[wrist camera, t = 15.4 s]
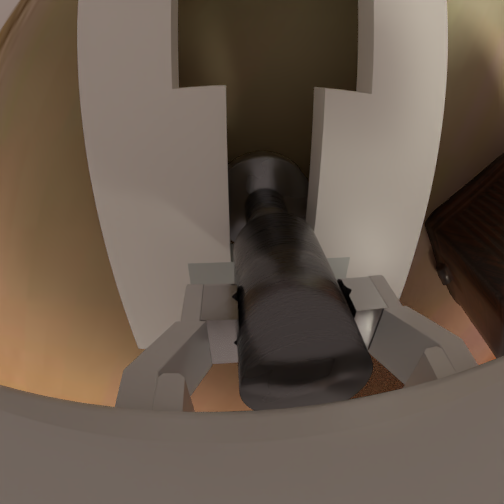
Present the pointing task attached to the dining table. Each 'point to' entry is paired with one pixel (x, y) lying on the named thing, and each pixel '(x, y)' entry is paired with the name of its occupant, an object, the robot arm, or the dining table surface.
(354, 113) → the keyhole board
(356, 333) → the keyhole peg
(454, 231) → the manual coffee grinder
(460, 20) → the dining table surface
